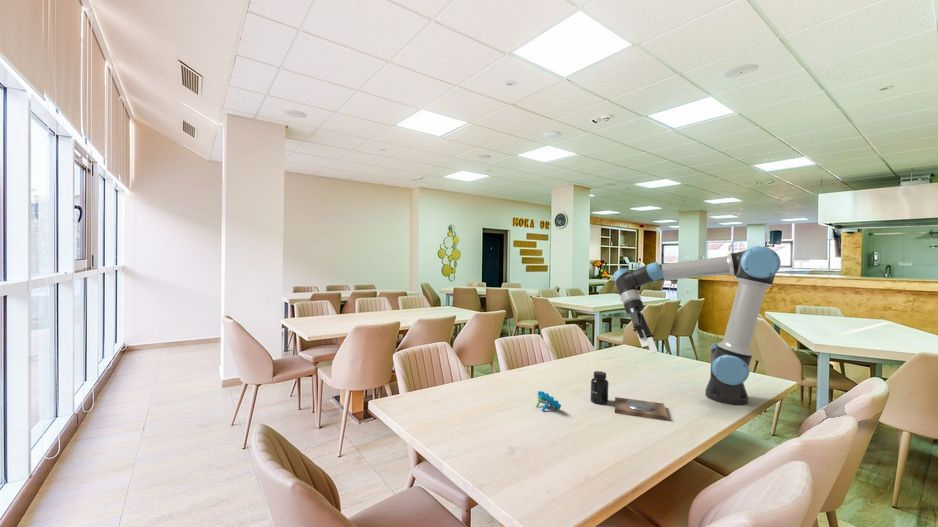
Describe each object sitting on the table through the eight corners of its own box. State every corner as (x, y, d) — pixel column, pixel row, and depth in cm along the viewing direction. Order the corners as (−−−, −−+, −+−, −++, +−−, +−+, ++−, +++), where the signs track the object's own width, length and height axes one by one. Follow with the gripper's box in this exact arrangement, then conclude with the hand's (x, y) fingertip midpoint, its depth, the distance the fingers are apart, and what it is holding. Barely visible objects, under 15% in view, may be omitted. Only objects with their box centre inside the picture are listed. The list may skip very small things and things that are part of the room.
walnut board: (663, 407, 152) (663, 402, 152) (667, 420, 139) (667, 415, 139) (615, 400, 159) (615, 396, 159) (614, 413, 146) (614, 408, 146)
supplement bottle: (589, 403, 155) (590, 373, 155) (591, 397, 162) (591, 369, 161) (607, 406, 153) (608, 375, 153) (608, 400, 159) (608, 371, 159)
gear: (567, 408, 145) (550, 391, 143) (559, 421, 143) (542, 405, 141) (548, 402, 155) (533, 387, 153) (541, 415, 153) (525, 399, 150)
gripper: (632, 312, 177) (649, 357, 166) (614, 297, 159) (631, 346, 148) (648, 307, 173) (667, 352, 162) (632, 290, 156) (651, 340, 144)
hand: (650, 349), depth 155 cm, fingers open, 13 cm apart
